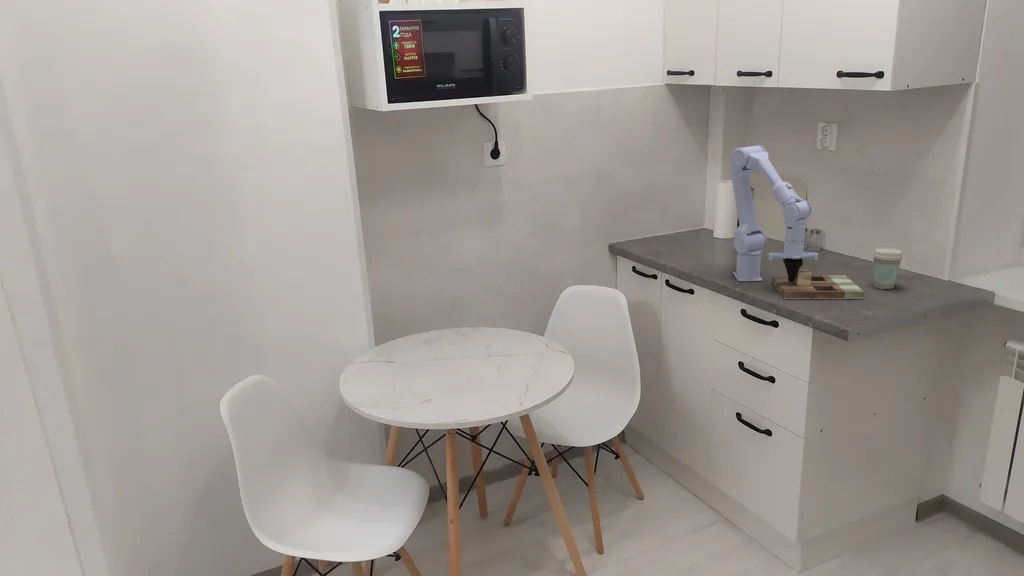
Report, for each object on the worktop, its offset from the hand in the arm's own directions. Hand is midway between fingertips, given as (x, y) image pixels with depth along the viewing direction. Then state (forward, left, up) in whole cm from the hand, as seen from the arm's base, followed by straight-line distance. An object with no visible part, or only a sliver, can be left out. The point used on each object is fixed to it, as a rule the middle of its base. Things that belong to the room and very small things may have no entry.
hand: (790, 281), depth 225 cm
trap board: (0, +8, -3) cm, 8 cm away
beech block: (0, +3, -1) cm, 4 cm away
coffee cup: (-4, +30, -3) cm, 30 cm away
